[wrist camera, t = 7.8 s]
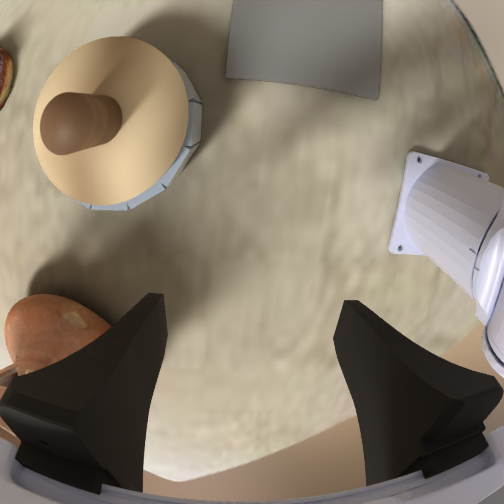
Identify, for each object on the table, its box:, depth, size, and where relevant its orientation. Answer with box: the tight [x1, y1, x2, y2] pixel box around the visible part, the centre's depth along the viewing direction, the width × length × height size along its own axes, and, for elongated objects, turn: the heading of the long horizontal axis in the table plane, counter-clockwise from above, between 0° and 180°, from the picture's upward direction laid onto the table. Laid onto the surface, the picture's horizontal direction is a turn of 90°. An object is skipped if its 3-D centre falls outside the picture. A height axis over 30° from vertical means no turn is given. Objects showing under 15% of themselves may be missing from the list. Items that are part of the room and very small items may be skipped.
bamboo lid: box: [33, 36, 189, 205], centre depth 11 cm, size 9×9×4 cm
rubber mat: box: [225, 0, 382, 100], centre depth 14 cm, size 10×10×1 cm
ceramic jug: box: [0, 294, 112, 448], centre depth 18 cm, size 18×14×14 cm
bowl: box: [61, 57, 203, 211], centre depth 15 cm, size 9×9×4 cm
